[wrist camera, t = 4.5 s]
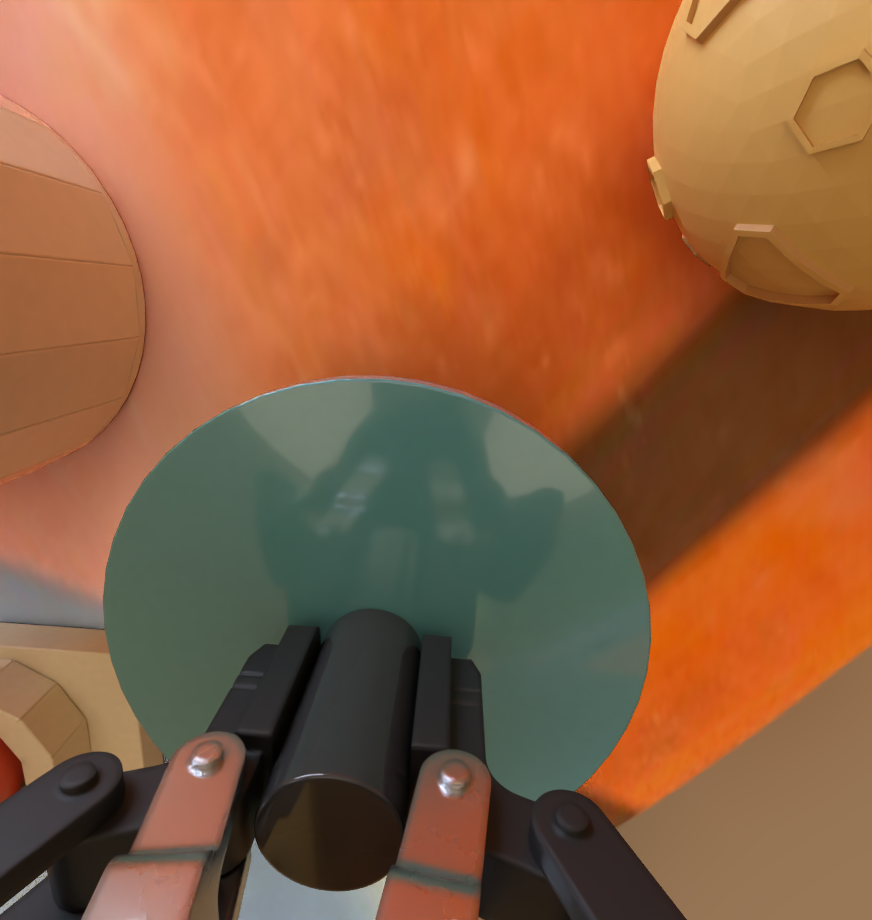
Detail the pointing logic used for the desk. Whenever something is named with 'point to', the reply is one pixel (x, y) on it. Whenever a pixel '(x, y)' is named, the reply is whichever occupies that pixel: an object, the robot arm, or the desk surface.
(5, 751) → the button
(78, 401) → the pot
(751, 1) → the stress ball
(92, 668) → the button box
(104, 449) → the desk surface
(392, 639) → the lid
